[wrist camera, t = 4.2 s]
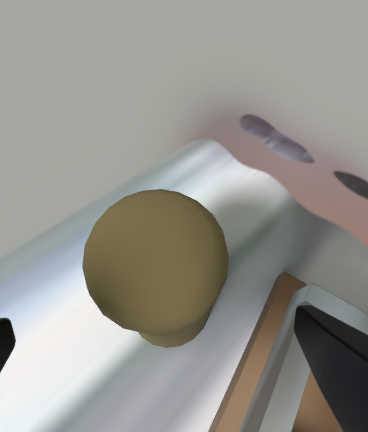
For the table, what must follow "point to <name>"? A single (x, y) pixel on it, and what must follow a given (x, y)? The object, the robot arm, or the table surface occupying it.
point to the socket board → (282, 367)
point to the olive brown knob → (156, 265)
